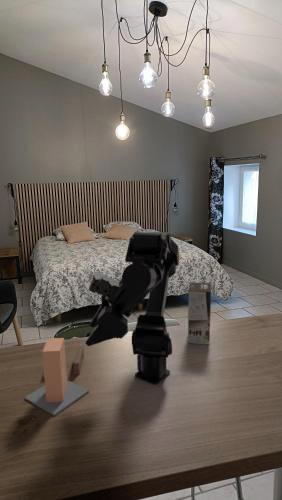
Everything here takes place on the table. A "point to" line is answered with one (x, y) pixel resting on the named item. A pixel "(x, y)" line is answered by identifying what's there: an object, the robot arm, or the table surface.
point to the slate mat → (54, 408)
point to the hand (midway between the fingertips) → (89, 334)
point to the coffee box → (199, 313)
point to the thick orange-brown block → (55, 369)
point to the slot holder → (78, 360)
